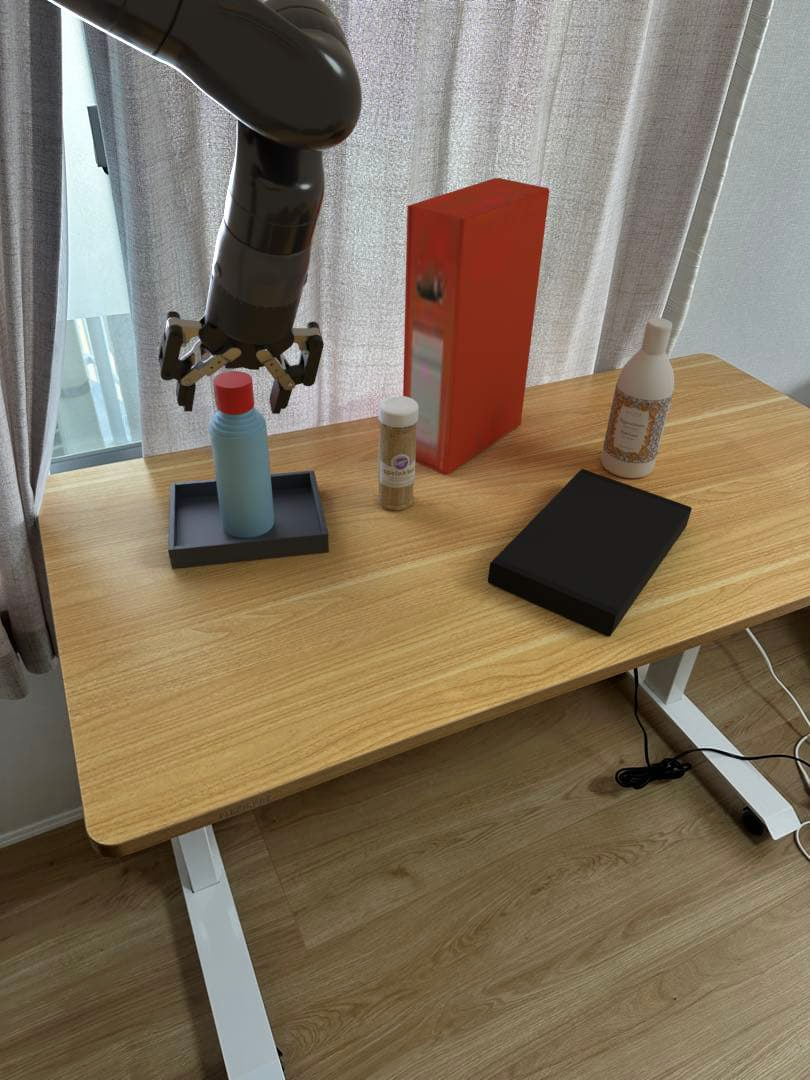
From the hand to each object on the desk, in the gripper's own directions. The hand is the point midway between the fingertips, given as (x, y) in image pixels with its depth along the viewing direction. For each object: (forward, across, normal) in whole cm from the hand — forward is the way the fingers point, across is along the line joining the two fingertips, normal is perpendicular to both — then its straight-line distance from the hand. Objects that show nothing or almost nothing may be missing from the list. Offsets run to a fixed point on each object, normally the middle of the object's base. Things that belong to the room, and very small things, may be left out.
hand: (231, 406), depth 79 cm
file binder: (+17, -36, -10) cm, 41 cm away
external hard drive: (+6, -40, +15) cm, 43 cm away
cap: (+4, -1, -4) cm, 6 cm away
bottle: (+18, -4, +2) cm, 18 cm away
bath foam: (+9, -54, 0) cm, 55 cm away
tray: (+18, -4, +2) cm, 19 cm away
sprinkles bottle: (+15, -22, +1) cm, 27 cm away
